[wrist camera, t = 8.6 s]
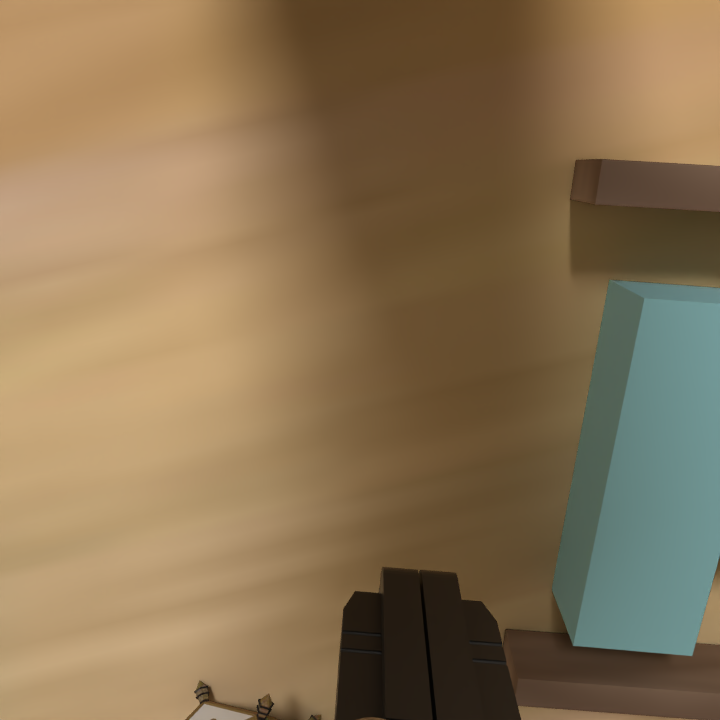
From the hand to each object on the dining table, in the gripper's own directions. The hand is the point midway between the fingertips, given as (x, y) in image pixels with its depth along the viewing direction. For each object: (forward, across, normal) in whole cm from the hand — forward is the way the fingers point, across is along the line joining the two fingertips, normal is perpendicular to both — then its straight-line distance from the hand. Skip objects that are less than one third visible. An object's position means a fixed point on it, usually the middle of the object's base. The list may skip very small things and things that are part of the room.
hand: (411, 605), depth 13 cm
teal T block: (+10, -12, +1) cm, 16 cm away
